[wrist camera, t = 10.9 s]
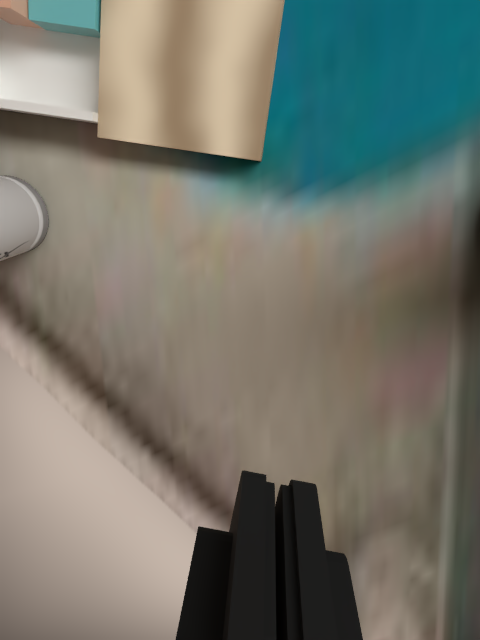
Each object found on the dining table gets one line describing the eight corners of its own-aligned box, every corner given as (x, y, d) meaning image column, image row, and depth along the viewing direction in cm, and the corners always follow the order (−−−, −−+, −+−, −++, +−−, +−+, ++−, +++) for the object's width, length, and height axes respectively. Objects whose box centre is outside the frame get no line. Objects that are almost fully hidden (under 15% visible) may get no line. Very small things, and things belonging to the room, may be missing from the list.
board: (303, -134, 29) (306, -161, 26) (261, 161, 35) (260, 160, 32) (119, -159, 29) (106, -188, 26) (108, 139, 35) (97, 137, 32)
